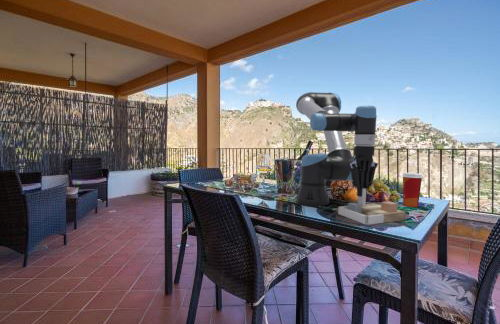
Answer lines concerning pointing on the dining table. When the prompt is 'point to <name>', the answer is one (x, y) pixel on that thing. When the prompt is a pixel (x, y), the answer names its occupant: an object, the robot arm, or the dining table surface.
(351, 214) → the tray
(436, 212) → the dining table surface
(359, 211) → the tile grey
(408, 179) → the coffee cup
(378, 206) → the board
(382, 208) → the tan block
